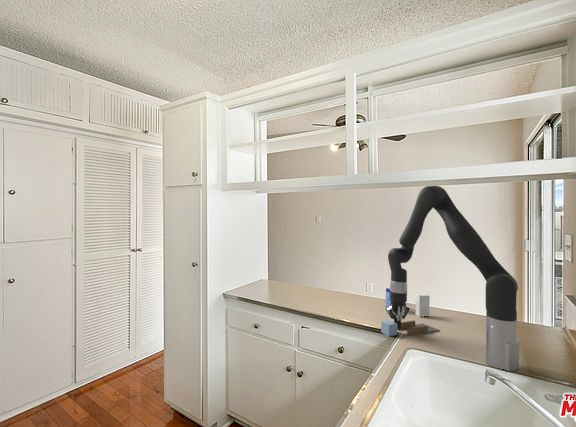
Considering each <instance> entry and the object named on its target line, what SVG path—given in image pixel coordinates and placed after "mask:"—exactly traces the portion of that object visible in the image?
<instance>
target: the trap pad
mask: <svg viewBox="0 0 576 427" xmlns="http://www.w3.org/2000/svg"><path fill="white" fill-rule="evenodd" d="M424 325H427V324H426V323H418V324H417V323H415V327H417V326H424ZM427 326H428V332H427V333H435V332H436V333H437V331H438V332H440V331H441V330H440V329H438V328H435V327H433V326H430V325H427Z"/></svg>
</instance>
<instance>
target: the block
mask: <svg viewBox="0 0 576 427" xmlns="http://www.w3.org/2000/svg"><path fill="white" fill-rule="evenodd" d="M380 326H381V328H380V332H381V333H382V334H383V335H385V336H387V337H391V336H392V337H393V336H397V335H398V330H397V326H398V324H397V323H394V321H392V320H384V321H381V325H380Z"/></svg>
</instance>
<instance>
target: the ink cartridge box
mask: <svg viewBox="0 0 576 427" xmlns="http://www.w3.org/2000/svg"><path fill="white" fill-rule="evenodd" d="M390 304H391V300H390V287H386V288H385V309H386V308H389V307H390Z"/></svg>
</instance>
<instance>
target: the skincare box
mask: <svg viewBox="0 0 576 427" xmlns="http://www.w3.org/2000/svg"><path fill="white" fill-rule="evenodd" d="M430 296H431V295H429V294H428V293H427V294H426V293H416V294H415V316H416V315H418V316H429V317H430ZM418 316H417V317H418Z"/></svg>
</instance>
